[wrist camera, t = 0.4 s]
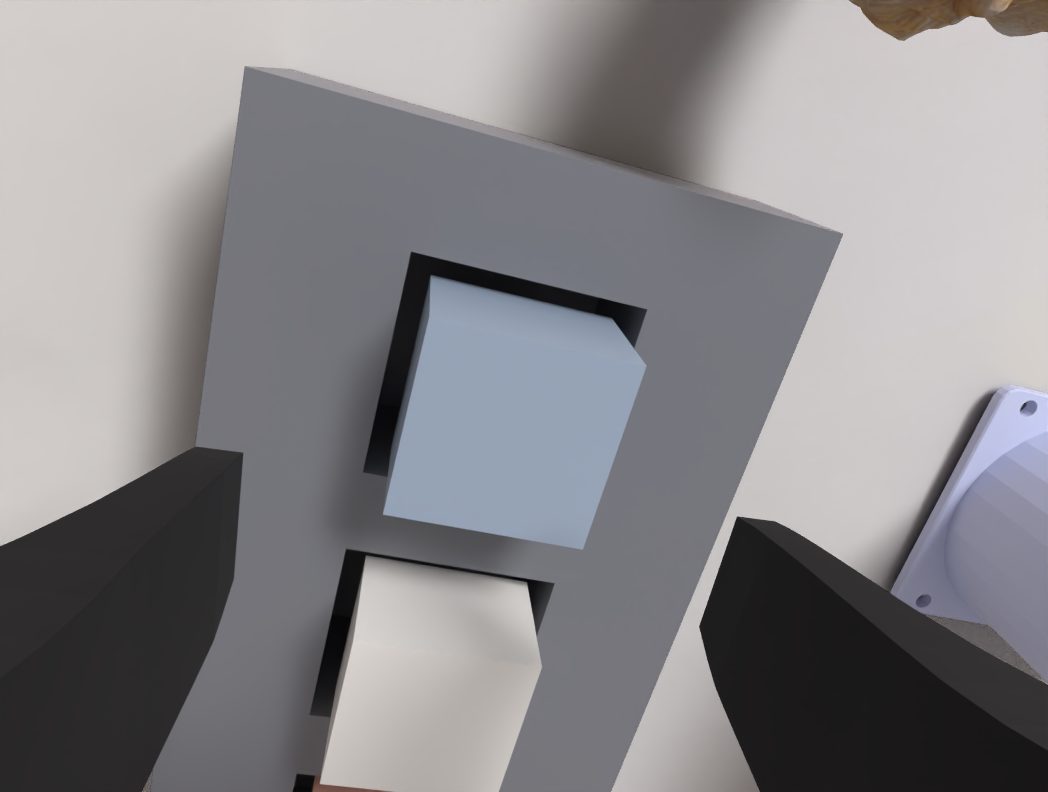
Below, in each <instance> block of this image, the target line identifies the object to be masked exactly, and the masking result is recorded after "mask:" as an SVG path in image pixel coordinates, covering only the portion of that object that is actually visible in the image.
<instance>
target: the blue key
mask: <svg viewBox="0 0 1048 792" xmlns="http://www.w3.org/2000/svg"><path fill="white" fill-rule="evenodd" d="M645 369H646V364H645V363H644V362H643V360H642V359H641V357H640V356H639V355H638V353H637V352H636V351H635V349H634V348H633V347H632V345H631V344H630V342H629V341H628V340H627V338H626V337H625V336H624V334H623V333H622V331H621V330H620V329H619V327H618V326H617V325H616V323H615V322H614V320H613V319H612V318H609V317H605V316H601V315H597V314H592V313H588V312H584V311H580V310H576V309H572V308H567V307H563V306H559V305H555V304H551V303H547V302H542V301H538V300H534V299H530V298H526V297H522V296H517V295H513V294H509V293H505V292H501V291H497V290H492V289H488V288H484V287H480V286H476V285H472V284H467V283H463V282H459V281H455V280H451V279H447V278H442V277H438V276H434V275H431V276H430V280H429V284H428V289H427V293H426V297H425V302H424V306H423V310H422V315H421V319H420V323H419V328H418V332H417V336H416V341H415V345H414V349H413V354H412V358H411V362H410V367H409V371H408V375H407V380H406V384H405V388H404V393H403V397H402V401H401V406H400V410H399V414H398V419H397V423H396V427H395V432H394V436H393V440H392V445H391V453H390V461H389V469H388V477H387V485H386V493H385V501H384V509H383V515H388V516H394V517H400V518H405V519H411V520H417V521H423V522H428V523H434V524H440V525H445V526H451V527H457V528H462V529H468V530H474V531H479V532H485V533H491V534H496V535H502V536H508V537H514V538H519V539H525V540H531V541H536V542H542V543H548V544H553V545H559V546H565V547H570V548H576V549H582V550H583V548H584V545H585V542H586V539H587V536H588V533H589V530H590V527H591V525H592V522H593V519H594V516H595V513H596V510H597V507H598V504H599V502H600V499H601V496H602V493H603V490H604V487H605V484H606V481H607V479H608V476H609V473H610V470H611V467H612V464H613V461H614V458H615V455H616V453H617V450H618V447H619V444H620V441H621V438H622V435H623V432H624V430H625V427H626V424H627V421H628V418H629V415H630V412H631V409H632V406H633V404H634V401H635V398H636V395H637V392H638V389H639V386H640V383H641V381H642V378H643V375H644V372H645Z"/></svg>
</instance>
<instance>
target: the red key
mask: <svg viewBox="0 0 1048 792" xmlns="http://www.w3.org/2000/svg"><path fill="white" fill-rule="evenodd" d="M320 779H321V776H315V779H314V783H313V787H312V792H392V791H382V790H373V789H363V788H354V787H344V786H335V785H325V784H320Z"/></svg>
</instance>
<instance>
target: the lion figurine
mask: <svg viewBox="0 0 1048 792" xmlns="http://www.w3.org/2000/svg"><path fill="white" fill-rule="evenodd" d="M849 1H850V2H852V3H853V4H855V5H857V6H859V7H860V8H861V10H862V12H863V13H864V15H865V16H866V17H867V18H868V19H869V20H870V21H871V22H872V23H873V24H874V25H875V26H876V27H877V28H879V29H881V30H883V31H884V32H886V33H888V34H889V35H891V36H893V37H895V38H896V39H898V40H902V41H905V40H906V39H908V38H909V37H911V36H913V35H915V34H918V33H920V32H923V31H925V30H927V29H939V28H942V27H945V26H947V25H954V24H957V23H959V22H960V21H962V20H963V19H965V18H966V17H969V16H974V17H982V18H986V20H987V21H988V22H989V24H990V25H991V26H992V27H993V28H994V29H995V30H996V31H998V32H999V33H1001V34H1003V35H1006V36H1026V35H1032V34H1035V33H1039V32H1048V0H849Z"/></svg>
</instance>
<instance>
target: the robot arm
mask: <svg viewBox="0 0 1048 792" xmlns="http://www.w3.org/2000/svg"><path fill="white" fill-rule="evenodd" d="M1027 401H1028V402H1027ZM1025 402H1027V405H1026V407H1025V408H1024V409H1023V410H1021V411H1020V409H1021V406H1022V405H1023V404H1024V403H1025ZM242 465H243V453H242V452H235V451H227V450H219V449H211V448H204V447H195V448H193V449H190V450H188V451H186V452H184V453H183V454H181V455H179V456H177V457H175V458H173V459H172V460H170V461H168V462H166V463H164V464H163V465H161V466H159V467H157V468H156V469H154V470H152V471H150V472H148V473H147V474H145V475H143V476H141V477H140V478H138V479H136V480H134V481H132V482H130V483H128V484H127V485H125V486H123V487H121V488H119V489H117V490H116V491H114V492H112V493H110V494H108V495H106V496H105V497H103V498H101V499H99V500H97V501H95V502H93V503H91V504H89V505H87V506H85V507H83V508H81V509H79V510H77V511H75V512H73V513H71V514H69V515H67V516H65V517H62V518H60V519H58V520H56V521H54V522H52V523H50V524H48V525H46V526H44V527H42V528H40V529H38V530H35V531H33V532H31V533H29V534H27V535H25V536H23V537H21V538H18V539H16V540H14V541H11V542H9V543H7V544H5V545H2V546H0V792H142V790H143V788H144V786H145V784H146V782H147V780H148V778H149V776H150V774H151V772H152V769H153V767H154V765H155V763H156V761H157V759H158V757H159V755H160V753H161V751H162V749H163V747H164V745H165V742H166V740H167V738H168V736H169V734H170V732H171V730H172V728H173V726H174V724H175V722H176V720H177V717H178V715H179V713H180V711H181V709H182V707H183V705H184V703H185V701H186V699H187V697H188V695H189V693H190V690H191V688H192V686H193V684H194V682H195V680H196V678H197V676H198V674H199V671H200V669H201V667H202V665H203V663H204V661H205V659H206V657H207V654H208V652H209V650H210V648H211V646H212V644H213V641H214V639H215V636H216V633H217V630H218V627H219V624H220V621H221V618H222V615H223V612H224V608H225V605H226V602H227V599H228V596H229V593H230V590H231V586H232V583H233V580H234V572H235V559H236V545H237V532H238V519H239V505H240V492H241V478H242ZM921 595H923V596H922V597H921V598H920V599H918V598H919V597H920V596H921ZM917 599H918V600H917ZM923 614H928V615H934V616H939V617H945V618H951V619H956V620H962V621H968V622H974V623H979V624H985V625H989V626H990V627H991V628H992V629H993V630H994V631H995V632H996V633H997V634H998V635H999V636H1000V637H1001V638H1002V639H1003V640H1004V641H1005V642H1006V643H1007V644H1009V645H1010V646H1011V647H1012V648H1013V649H1014V650H1015V651H1016V652H1017V653H1018V654H1019V655H1020V656H1021V657H1022V658H1023V659H1024V660H1025V661H1026V662H1027V663H1028V664H1029V665H1030V666H1031V667H1032V668H1033V669H1034V670H1035V671H1036V672H1037V673H1038V674H1039V675H1040V676H1041V677H1042V678H1043V679H1044V680H1045V681H1046V682H1047V683H1048V394H1047V393H1043V392H1039V391H1035V390H1031V389H1027V388H1023V387H1019V386H1015V385H1008V386H1005V387H1002V388H1001V389H999V390H998V391H997V392H996V393H995V394H994V396H993V397H992V399H991V401H990V402H989V404H988V406H987V408H986V410H985V412H984V414H983V416H982V418H981V420H980V421H979V423H978V425H977V427H976V429H975V431H974V433H973V435H972V437H971V439H970V441H969V442H968V444H967V446H966V448H965V450H964V452H963V454H962V456H961V458H960V460H959V461H958V463H957V465H956V467H955V469H954V471H953V473H952V475H951V477H950V479H949V481H948V482H947V484H946V486H945V488H944V490H943V492H942V494H941V496H940V498H939V500H938V501H937V503H936V505H935V507H934V509H933V511H932V513H931V515H930V517H929V519H928V521H927V522H926V524H925V526H924V528H923V530H922V532H921V534H920V536H919V538H918V540H917V541H916V543H915V545H914V547H913V549H912V551H911V553H910V555H909V557H908V559H907V561H906V562H905V564H904V566H903V568H902V570H901V572H900V574H899V576H898V578H897V580H896V582H895V583H894V585H893V587H892V589H891V592H890V593H889V592H887V591H886V590H884V589H883V588H881V587H880V586H878V585H877V584H875V583H874V582H872V581H871V580H869V579H868V578H866V577H865V576H863V575H862V574H860V573H859V572H857V571H856V570H854V569H853V568H851V567H850V566H848V565H847V564H845V563H844V562H842V561H841V560H839V559H837V558H836V557H834V556H833V555H831V554H830V553H828V552H827V551H825V550H824V549H822V548H821V547H819V546H817V545H816V544H814V543H813V542H811V541H809V540H808V539H806V538H805V537H803V536H801V535H800V534H798V533H796V532H794V531H793V530H791V529H789V528H787V527H785V526H783V525H781V524H779V523H777V522H775V521H767V520H760V519H752V518H744V517H737V518H736V521H735V524H734V527H733V530H732V533H731V536H730V539H729V542H728V545H727V547H726V550H725V553H724V556H723V559H722V562H721V565H720V568H719V571H718V574H717V576H716V579H715V582H714V585H713V588H712V591H711V594H710V597H709V600H708V603H707V606H706V608H705V611H704V614H703V617H702V620H701V623H700V626H699V627H700V631H701V636H702V640H703V644H704V648H705V652H706V656H707V660H708V663H709V667H710V670H711V674H712V677H713V680H714V684H715V687H716V690H717V692H718V695H719V697H720V700H721V702H722V704H723V707H724V709H725V712H726V714H727V716H728V719H729V721H730V723H731V726H732V728H733V731H734V733H735V735H736V738H737V740H738V742H739V744H740V747H741V749H742V751H743V754H744V756H745V758H746V761H747V763H748V765H749V767H750V770H751V772H752V774H753V777H754V779H755V781H756V783H757V786H758V788H759V790H760V792H1048V685H1047V684H1045V683H1043V682H1041V681H1039V680H1037V679H1036V678H1034V677H1032V676H1030V675H1028V674H1026V673H1024V672H1022V671H1020V670H1018V669H1017V668H1015V667H1013V666H1011V665H1009V664H1007V663H1005V662H1003V661H1001V660H999V659H998V658H996V657H994V656H992V655H991V654H989V653H987V652H985V651H983V650H982V649H980V648H978V647H976V646H975V645H973V644H971V643H969V642H968V641H966V640H965V639H963V638H961V637H960V636H958V635H956V634H955V633H953V632H951V631H950V630H948V629H946V628H945V627H943V626H941V625H940V624H938V623H936V622H935V621H933V620H931V619H930V618H928V617H927V616H925V615H923Z"/></svg>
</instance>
